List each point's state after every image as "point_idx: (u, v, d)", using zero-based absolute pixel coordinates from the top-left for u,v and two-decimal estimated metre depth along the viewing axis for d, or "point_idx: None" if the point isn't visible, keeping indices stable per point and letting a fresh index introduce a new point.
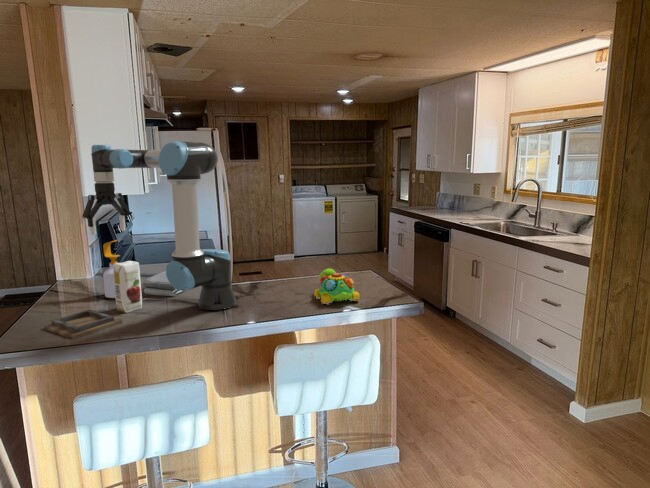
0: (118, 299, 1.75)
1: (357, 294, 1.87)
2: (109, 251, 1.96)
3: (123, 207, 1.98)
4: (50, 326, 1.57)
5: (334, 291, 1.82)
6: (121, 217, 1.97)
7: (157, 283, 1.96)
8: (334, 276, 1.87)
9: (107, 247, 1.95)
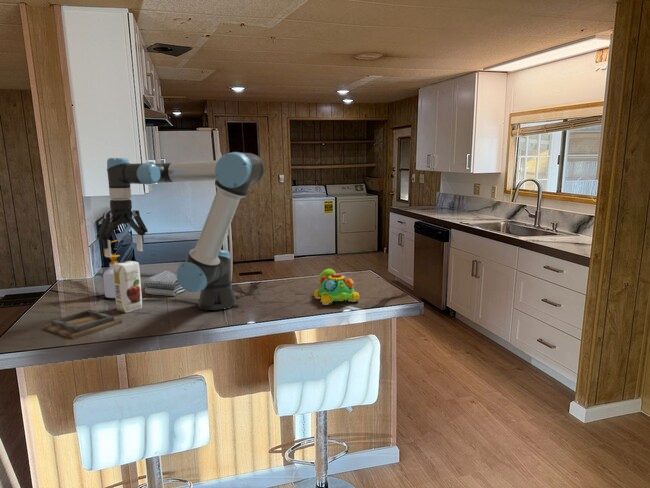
0: (118, 299, 1.75)
1: (357, 294, 1.86)
2: None
3: (140, 226, 1.79)
4: (50, 326, 1.57)
5: (334, 291, 1.82)
6: (138, 237, 1.79)
7: (158, 283, 1.96)
8: (334, 276, 1.86)
9: None
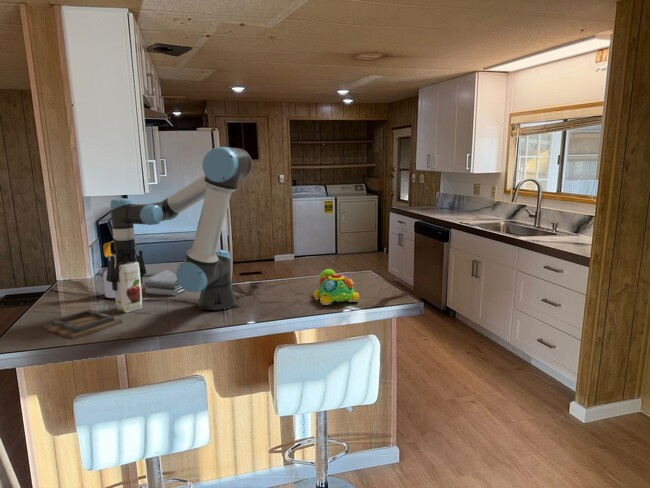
0: (118, 299, 1.75)
1: (357, 295, 1.86)
2: (109, 251, 1.96)
3: (140, 266, 1.81)
4: (50, 326, 1.57)
5: (334, 292, 1.82)
6: None
7: (159, 283, 1.97)
8: (334, 277, 1.86)
9: (107, 247, 1.95)
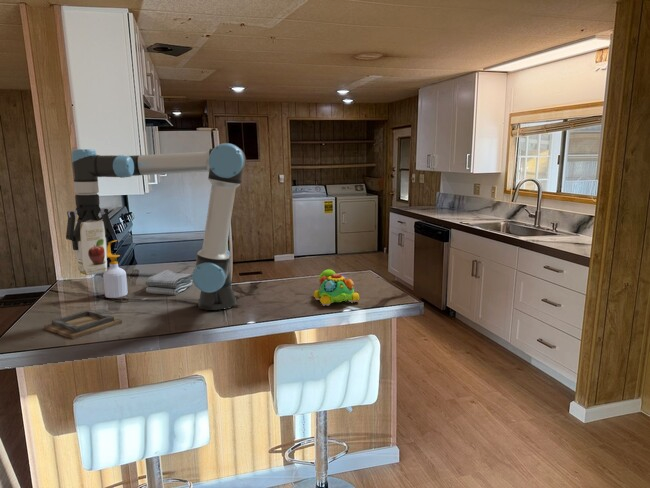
0: (79, 260, 1.59)
1: (357, 295, 1.85)
2: (109, 251, 1.96)
3: (106, 226, 1.66)
4: (50, 326, 1.57)
5: (334, 292, 1.81)
6: None
7: (159, 282, 1.98)
8: (334, 277, 1.85)
9: (107, 247, 1.95)
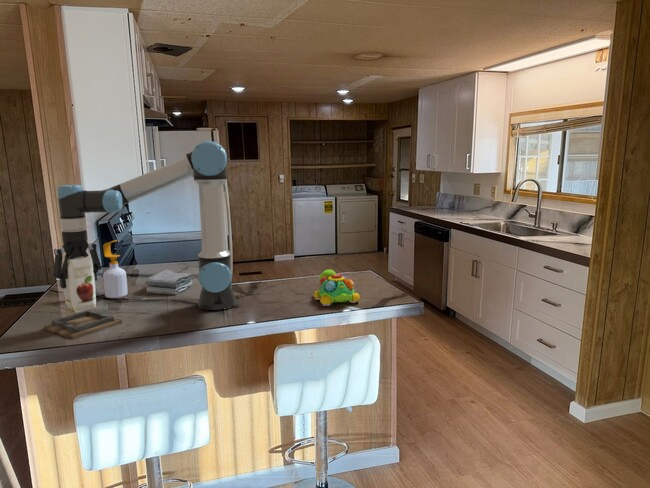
0: None
1: (357, 295, 1.85)
2: (109, 251, 1.96)
3: (94, 261, 1.62)
4: (50, 326, 1.57)
5: (334, 292, 1.81)
6: None
7: (160, 282, 1.98)
8: (334, 277, 1.85)
9: (107, 247, 1.95)
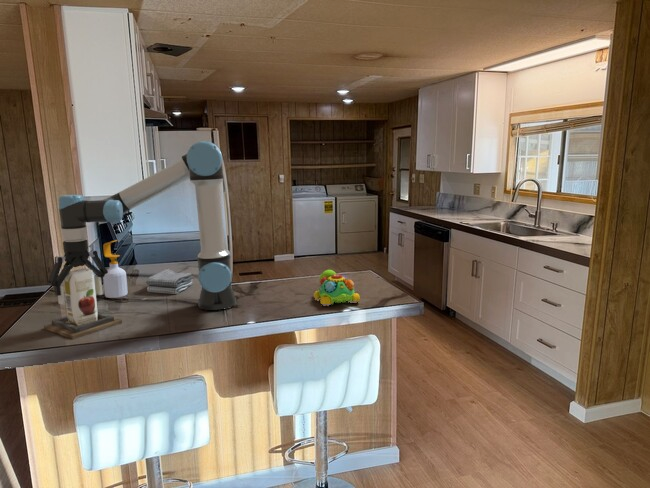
0: (69, 311, 1.57)
1: (357, 296, 1.84)
2: (109, 251, 1.96)
3: (99, 267, 1.64)
4: (50, 326, 1.57)
5: (334, 293, 1.80)
6: (97, 279, 1.64)
7: (160, 281, 1.99)
8: (334, 277, 1.84)
9: (107, 247, 1.95)
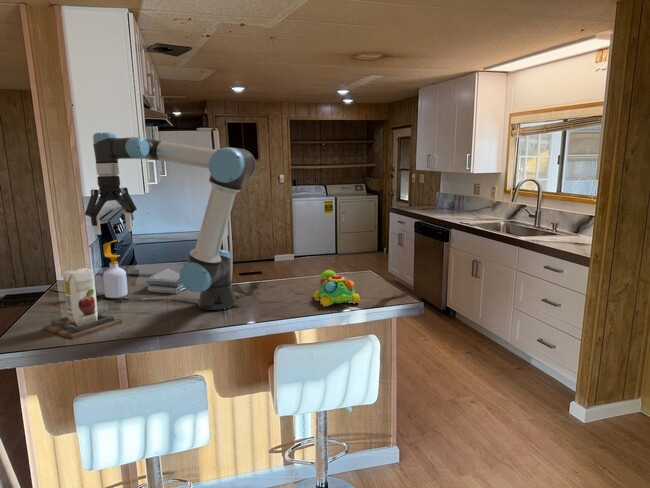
0: (69, 311, 1.57)
1: (357, 296, 1.84)
2: (109, 251, 1.96)
3: (129, 203, 1.76)
4: (50, 326, 1.57)
5: (334, 293, 1.80)
6: (127, 215, 1.76)
7: (161, 281, 1.99)
8: (334, 278, 1.84)
9: (107, 247, 1.95)
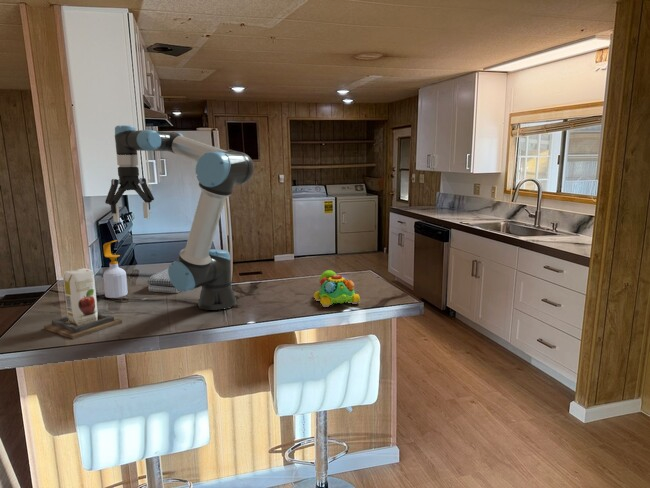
0: (69, 311, 1.57)
1: (357, 296, 1.83)
2: (109, 251, 1.96)
3: (147, 193, 1.85)
4: (50, 326, 1.57)
5: (334, 293, 1.79)
6: (145, 204, 1.85)
7: (161, 281, 2.00)
8: (334, 278, 1.83)
9: (107, 247, 1.95)
